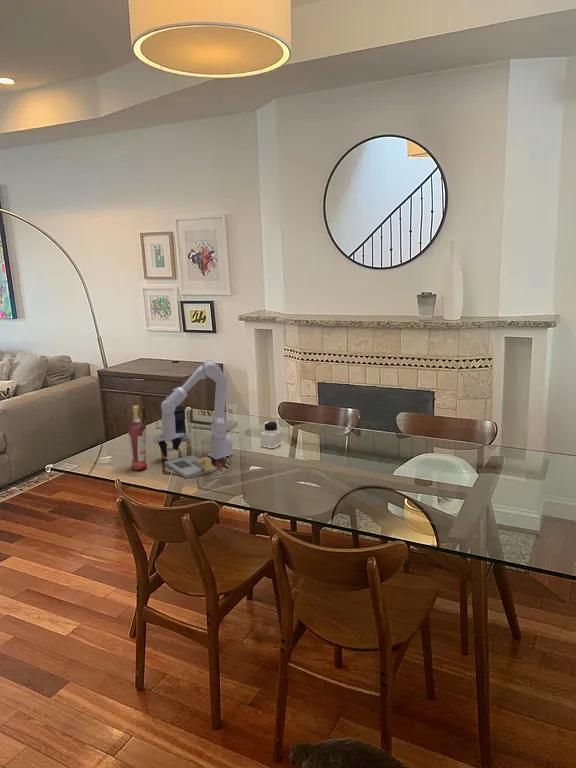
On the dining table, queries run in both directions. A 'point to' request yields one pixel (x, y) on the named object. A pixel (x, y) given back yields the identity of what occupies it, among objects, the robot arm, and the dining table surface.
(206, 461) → the wooden l-shaped block
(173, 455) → the cover
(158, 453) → the dining table surface
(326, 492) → the dining table surface
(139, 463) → the liquor
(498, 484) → the dining table surface
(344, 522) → the dining table surface
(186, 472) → the panel
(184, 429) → the storage jar
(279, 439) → the medicine bottle
